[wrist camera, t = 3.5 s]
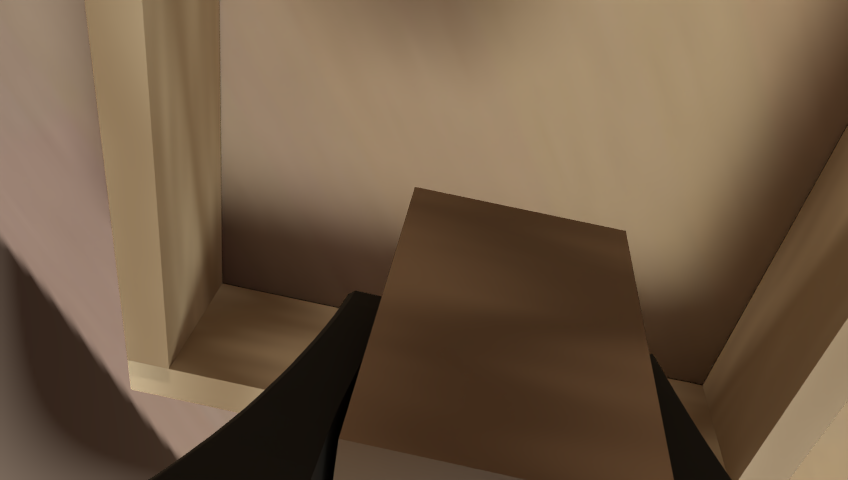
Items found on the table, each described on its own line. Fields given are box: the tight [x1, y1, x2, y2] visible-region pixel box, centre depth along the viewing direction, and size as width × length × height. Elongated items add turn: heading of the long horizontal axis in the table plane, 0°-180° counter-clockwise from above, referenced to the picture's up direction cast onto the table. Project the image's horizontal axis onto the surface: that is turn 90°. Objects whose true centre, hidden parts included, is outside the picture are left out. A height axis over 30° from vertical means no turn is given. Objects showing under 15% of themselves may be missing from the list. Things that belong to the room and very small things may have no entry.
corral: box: [84, 0, 848, 480], centre depth 18 cm, size 18×14×4 cm
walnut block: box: [333, 187, 674, 480], centre depth 12 cm, size 4×4×6 cm
